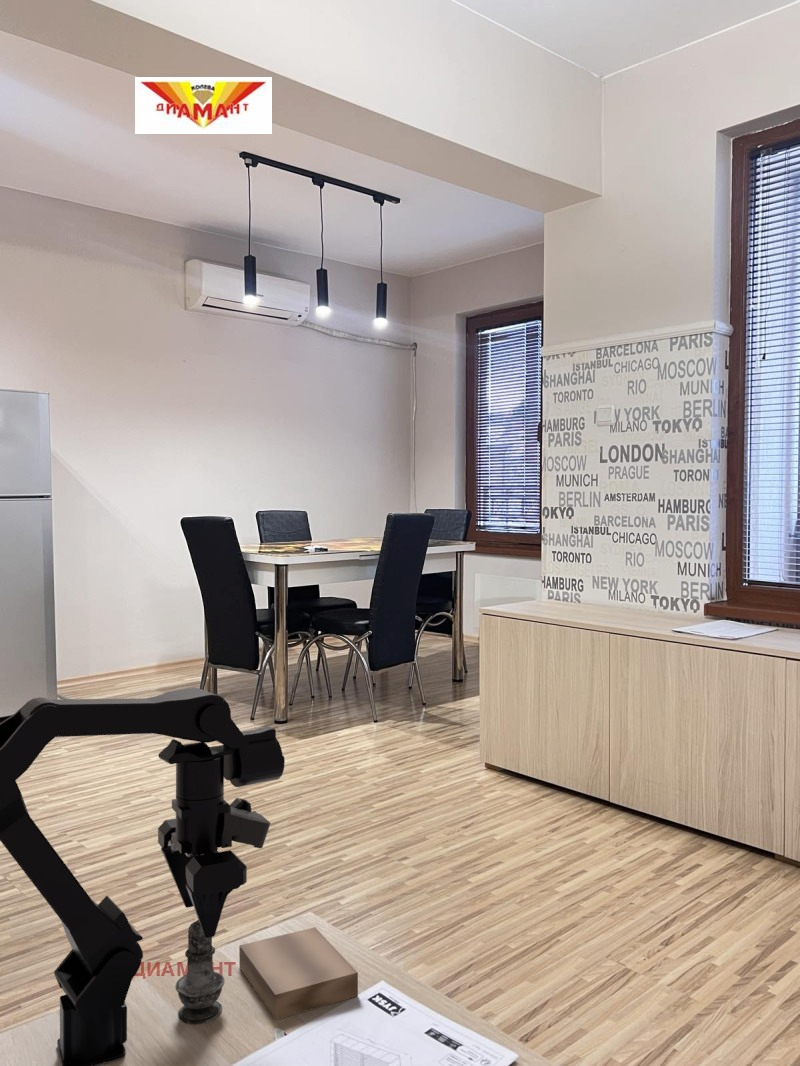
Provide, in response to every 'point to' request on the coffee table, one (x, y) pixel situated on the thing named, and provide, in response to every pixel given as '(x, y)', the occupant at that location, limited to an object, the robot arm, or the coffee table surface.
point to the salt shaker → (199, 980)
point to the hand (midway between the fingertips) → (199, 921)
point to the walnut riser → (297, 972)
